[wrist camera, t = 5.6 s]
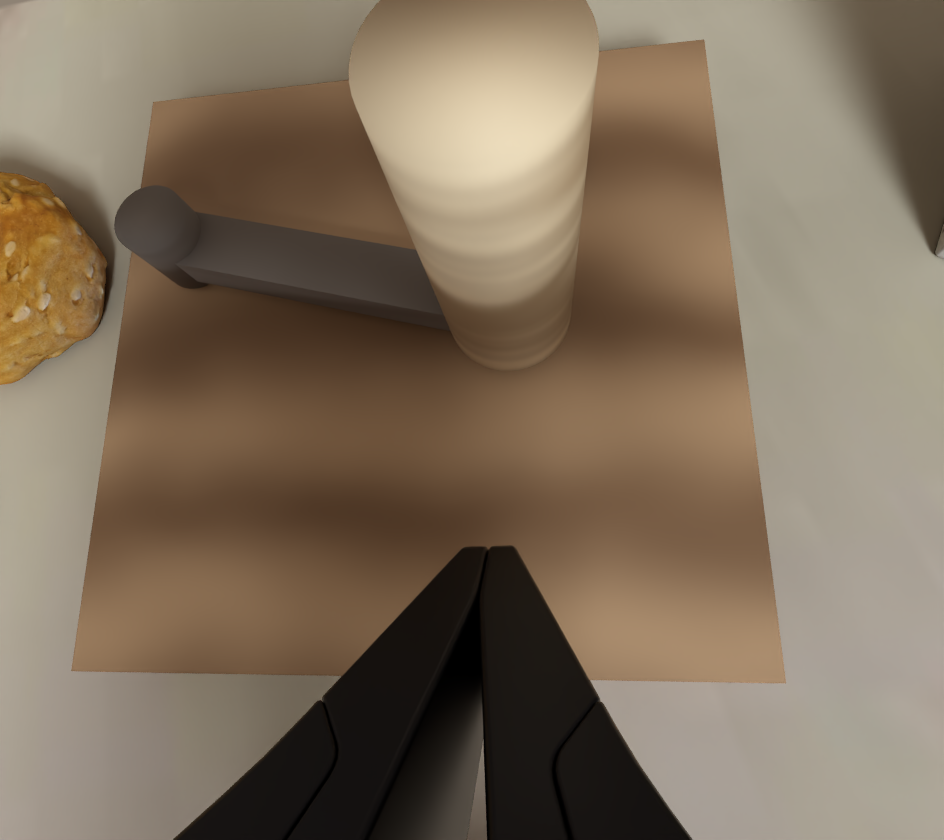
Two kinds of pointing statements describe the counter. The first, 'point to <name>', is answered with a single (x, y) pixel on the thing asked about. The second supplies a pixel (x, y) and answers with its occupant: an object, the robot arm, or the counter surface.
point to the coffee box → (940, 245)
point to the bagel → (43, 277)
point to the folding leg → (433, 182)
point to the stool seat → (434, 415)
